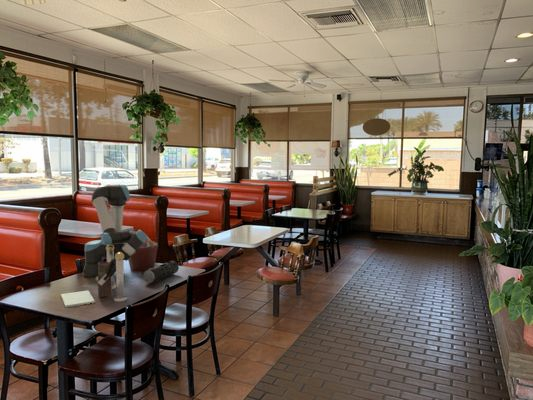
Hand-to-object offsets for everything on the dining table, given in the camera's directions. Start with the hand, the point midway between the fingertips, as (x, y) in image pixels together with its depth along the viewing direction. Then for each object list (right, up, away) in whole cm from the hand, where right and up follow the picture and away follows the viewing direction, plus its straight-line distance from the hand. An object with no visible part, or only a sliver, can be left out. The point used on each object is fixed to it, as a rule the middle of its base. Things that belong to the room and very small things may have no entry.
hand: (98, 282), depth 247 cm
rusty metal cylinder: (+3, -9, +3) cm, 9 cm away
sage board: (-10, -9, -5) cm, 14 cm away
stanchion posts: (+8, -8, +6) cm, 13 cm away
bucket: (+8, -3, +63) cm, 63 cm away
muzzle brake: (+28, -6, +37) cm, 47 cm away
